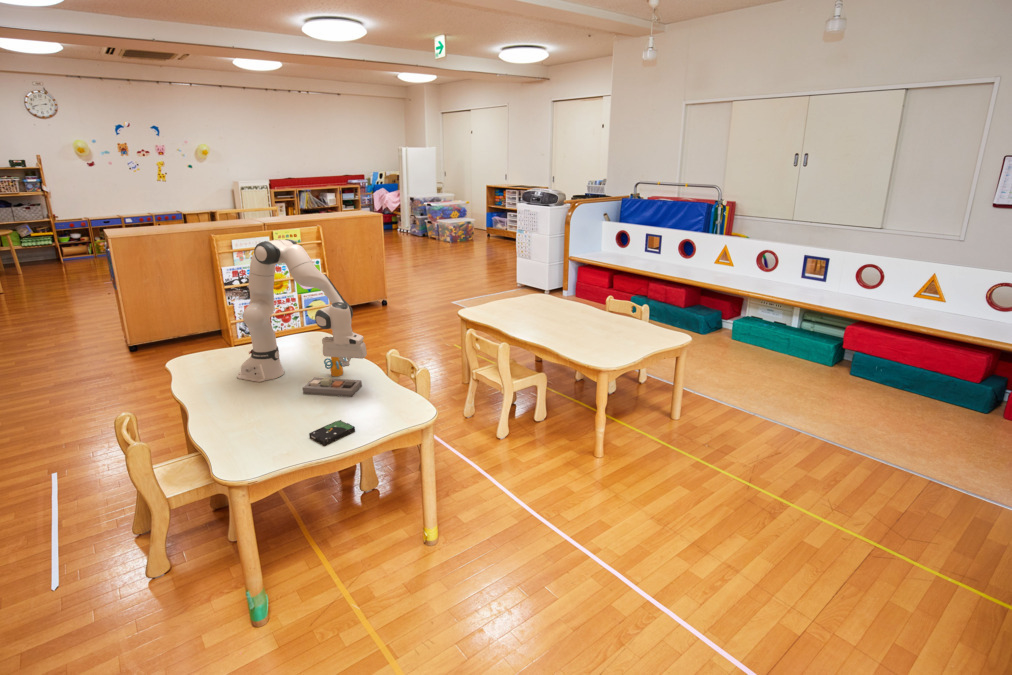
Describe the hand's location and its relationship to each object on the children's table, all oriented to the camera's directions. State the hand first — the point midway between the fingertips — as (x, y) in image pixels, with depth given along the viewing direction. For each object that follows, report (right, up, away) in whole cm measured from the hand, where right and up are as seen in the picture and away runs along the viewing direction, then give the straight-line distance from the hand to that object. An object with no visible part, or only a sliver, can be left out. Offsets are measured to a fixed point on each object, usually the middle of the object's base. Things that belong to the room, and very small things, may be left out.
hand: (345, 365), depth 258 cm
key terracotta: (-5, -11, +5) cm, 13 cm away
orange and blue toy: (-11, -6, +23) cm, 26 cm away
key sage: (-11, -9, +5) cm, 15 cm away
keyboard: (-8, -12, +6) cm, 15 cm away
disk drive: (+5, -27, -34) cm, 43 cm away
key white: (-16, -10, +6) cm, 20 cm away
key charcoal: (0, -11, +4) cm, 12 cm away
